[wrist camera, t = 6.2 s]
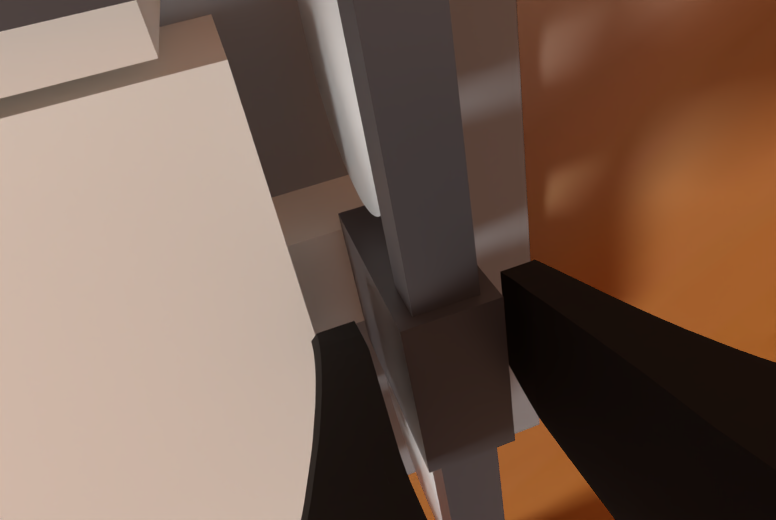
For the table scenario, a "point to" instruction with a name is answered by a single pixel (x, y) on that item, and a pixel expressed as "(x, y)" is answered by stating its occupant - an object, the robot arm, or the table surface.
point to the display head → (197, 252)
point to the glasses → (405, 233)
